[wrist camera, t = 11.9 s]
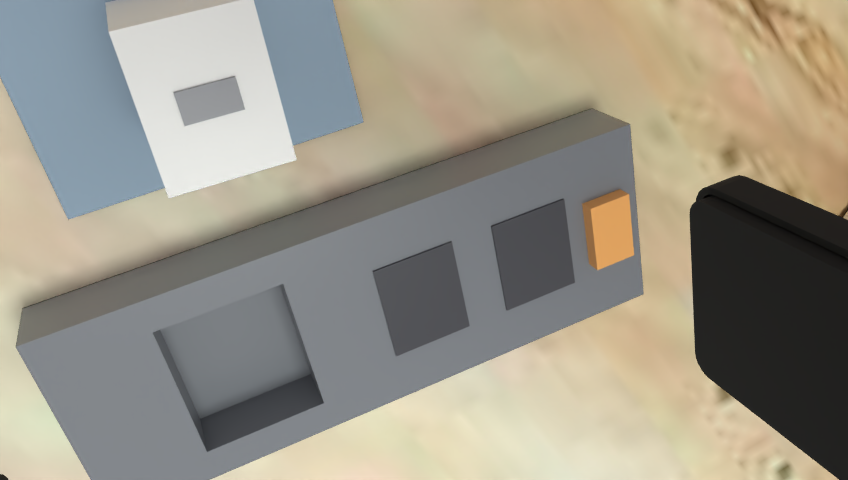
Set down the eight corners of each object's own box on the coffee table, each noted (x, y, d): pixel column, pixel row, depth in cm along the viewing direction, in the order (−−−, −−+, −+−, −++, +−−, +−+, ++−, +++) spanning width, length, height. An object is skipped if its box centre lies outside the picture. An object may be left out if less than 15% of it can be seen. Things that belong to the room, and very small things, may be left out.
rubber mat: (301, -111, 28) (304, -111, 27) (360, 120, 32) (363, 122, 32) (-47, -26, 25) (-49, -26, 25) (68, 215, 29) (68, 219, 29)
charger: (218, -24, 28) (253, -3, 22) (256, 108, 30) (297, 161, 24) (105, 2, 27) (108, 32, 20) (153, 137, 29) (169, 199, 23)
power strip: (592, 108, 36) (639, 128, 33) (608, 269, 40) (652, 300, 37) (22, 308, 30) (13, 356, 27) (112, 474, 34) (114, 532, 31)
